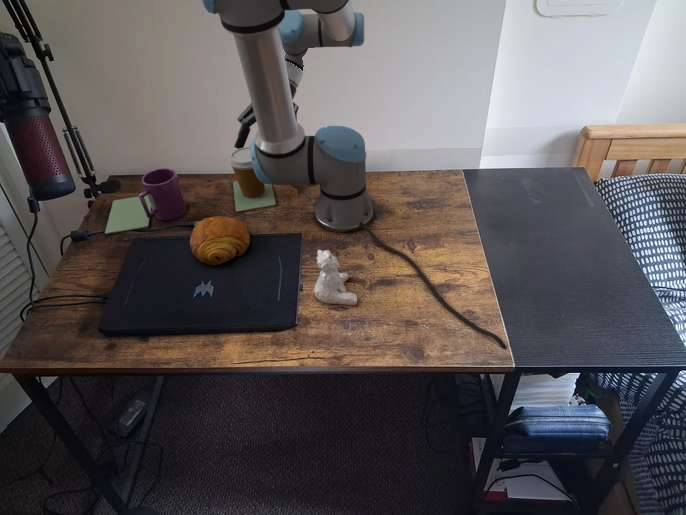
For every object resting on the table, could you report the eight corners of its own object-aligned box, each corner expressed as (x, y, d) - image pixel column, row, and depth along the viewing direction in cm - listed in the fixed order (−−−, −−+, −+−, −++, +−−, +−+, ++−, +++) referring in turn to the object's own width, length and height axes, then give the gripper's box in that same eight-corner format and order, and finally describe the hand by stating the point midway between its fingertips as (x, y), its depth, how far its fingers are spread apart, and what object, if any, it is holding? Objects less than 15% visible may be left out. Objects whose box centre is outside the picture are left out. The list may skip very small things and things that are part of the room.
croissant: (193, 276, 109) (182, 254, 103) (196, 230, 119) (186, 207, 113) (254, 266, 110) (247, 244, 104) (251, 221, 120) (245, 199, 114)
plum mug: (172, 199, 131) (160, 165, 124) (193, 207, 127) (182, 172, 120) (139, 220, 123) (125, 185, 116) (161, 229, 120) (147, 194, 113)
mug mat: (148, 227, 121) (148, 226, 121) (105, 234, 119) (104, 233, 119) (153, 195, 133) (152, 194, 133) (113, 201, 131) (113, 200, 131)
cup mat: (276, 205, 126) (275, 204, 126) (236, 212, 124) (235, 211, 124) (269, 176, 138) (269, 175, 138) (233, 182, 136) (232, 181, 136)
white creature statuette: (359, 305, 96) (358, 263, 88) (320, 315, 95) (315, 273, 87) (346, 276, 103) (344, 234, 95) (309, 285, 102) (304, 243, 94)
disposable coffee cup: (267, 201, 127) (260, 162, 119) (233, 202, 127) (224, 163, 120) (272, 182, 134) (266, 145, 126) (240, 183, 135) (231, 146, 127)
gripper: (327, 97, 122) (296, 171, 123) (260, 81, 134) (233, 148, 135) (313, 84, 116) (281, 162, 117) (243, 68, 127) (215, 139, 128)
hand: (255, 155), depth 126 cm, fingers open, 13 cm apart
